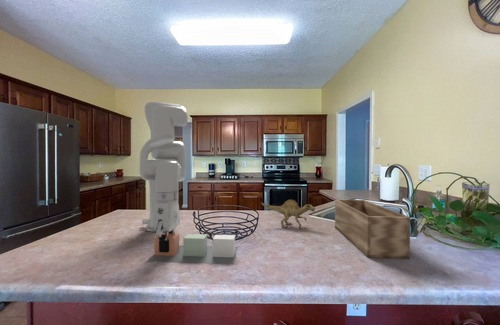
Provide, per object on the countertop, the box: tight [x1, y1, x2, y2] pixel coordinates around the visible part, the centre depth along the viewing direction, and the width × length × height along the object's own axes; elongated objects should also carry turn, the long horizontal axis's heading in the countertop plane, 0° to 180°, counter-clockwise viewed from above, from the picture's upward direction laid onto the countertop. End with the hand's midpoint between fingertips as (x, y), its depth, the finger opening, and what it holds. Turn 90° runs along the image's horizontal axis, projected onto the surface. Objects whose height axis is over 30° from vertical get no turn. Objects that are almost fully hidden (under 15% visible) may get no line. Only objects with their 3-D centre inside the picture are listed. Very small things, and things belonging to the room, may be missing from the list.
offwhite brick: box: [212, 234, 236, 257], centre depth 73 cm, size 7×4×6 cm, turn 87°
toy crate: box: [334, 199, 411, 260], centre depth 89 cm, size 14×32×14 cm, turn 177°
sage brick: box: [182, 233, 208, 257], centre depth 74 cm, size 7×4×6 cm, turn 87°
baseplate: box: [146, 244, 239, 265], centre depth 74 cm, size 28×13×1 cm, turn 87°
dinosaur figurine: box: [260, 199, 316, 229], centre depth 108 cm, size 8×26×13 cm, turn 80°
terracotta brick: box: [153, 233, 180, 256], centre depth 74 cm, size 7×4×6 cm, turn 87°
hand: (167, 248), depth 74 cm, fingers closed on terracotta brick, 3 cm apart
